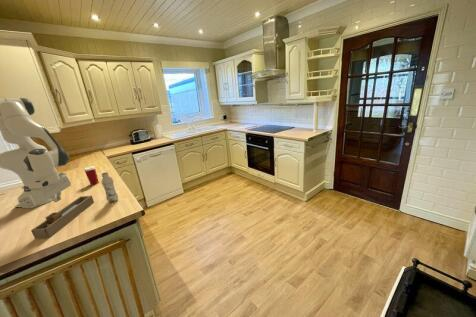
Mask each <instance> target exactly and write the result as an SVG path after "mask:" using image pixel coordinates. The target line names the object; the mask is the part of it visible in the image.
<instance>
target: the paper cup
mask: <svg viewBox="0 0 476 317" xmlns="http://www.w3.org/2000/svg"><path fill="white" fill-rule="evenodd" d="M83 171H84V172H85V175H86V176H87V177H86V178H87V180H88V181H89V184H90V185H91V186H95V185H97V184H99V183H100V181H99V178H98V174H97V170H96V166H94V165H93V166H92V165H91V166H87V167H85V168H84V170H83Z"/></svg>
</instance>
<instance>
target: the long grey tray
mask: <svg viewBox="0 0 476 317" xmlns="http://www.w3.org/2000/svg"><path fill="white" fill-rule="evenodd" d="M94 203H95V201H94V198H93V196H92V195H83V196H82V195H81V196H79V197H77V198H76V199H75V200H73V201H72V202H70V203H68V204H67V205H66V206H64V207H63V208H62V209H59V211H58V212H61V214H62V217H60V218H59V219H58V220H56V221H55V222H53V223H52V224H51V225H49V224H48V222H47V220H46V219H45V220H44V221H42V222H41V223H39V224H38V225H37V226H36V227H34V228H32V229H31V231H30V232H31V234H32V236H33V237H34V239H35V240H39V239H50V238H52V236H55V234H56V233H58V232H59V231H60V230H62V229H64V227H65V226H66V225H68V224H69V223H71V221H73V220H74V219H76V218H77V217H78V216H80V214H81V213H83V212H84V211H85V210H87V209H88V208H89V207H90V206H91V205H93V204H94Z"/></svg>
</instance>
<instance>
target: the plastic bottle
mask: <svg viewBox="0 0 476 317" xmlns="http://www.w3.org/2000/svg"><path fill="white" fill-rule="evenodd" d="M101 177H102V178H101V182H100V183H101V184H102V187H103V189H104V191H105V196H106V201H107V202H108V203H114V202H117V201H118V200H119V195H118V193H117V191H116V188H115V184H114V179H113V178H112V177H111V176H110V174H109V172H102V173H101Z"/></svg>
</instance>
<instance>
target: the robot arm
mask: <svg viewBox="0 0 476 317" xmlns="http://www.w3.org/2000/svg"><path fill="white" fill-rule="evenodd" d="M35 109H36V108H35V105H34V103H33V102H32V101H31V100H30V99H28V98H24V97H20V98H16V97H4V98H0V133H1V134H0V135H1V136H2V138H3V140H4V141H5V142H6V143H8V144H14V145H18V147H19V148H16V149H12V150H7V151H4V152H1V153H0V169H2V170H7V171H11V172H13V173H14V174H16V175H17V176H18V177H19V178H20V181H21V183H22V184H23V186H21V187H20V188H21V189H23V192H22V193H20V195H19V196H17V201H18V203H16V205H14V208H15V207H22V208H21V209H33V208H36V207H38V206H39V207H40V206H42V205H45V204H48V203H51V202H54V203H58V202H59V201H61V200H62V196H61V195H62V191H64V190H65V189H67V188H69V187H71V186H72V185H71V184H72V183H71V181H70V179H69V177H68V176H67V174H66V173H65V172H62V171H61V172H60V173H59V172H58V170H57V167H64V166H66V165H68V163H69V162H70V156H69V154H68V153H67V151H66V150H65V149H64V148H63V147H62V146H61V145H60V144H59V143H58V141H57V140H56V139H55V137H54V136H53V135H52V134H51V132H50V131H49V130H48V129H47V128H46V127H45V126H43V125H42V124H41V125H40V124H38V123H37V122H35V121H34V120H33V119H32V117H31V116H32V115H34V114H35V112H36V111H35ZM32 138H38V139H41V140H43V141H44V142H45V144H46V145H47V146H48V147H49V149H50V150H48V149H47V147H46V146H45V145H41V144H39V143H37V142H35V141H34V140H33V139H32Z"/></svg>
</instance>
